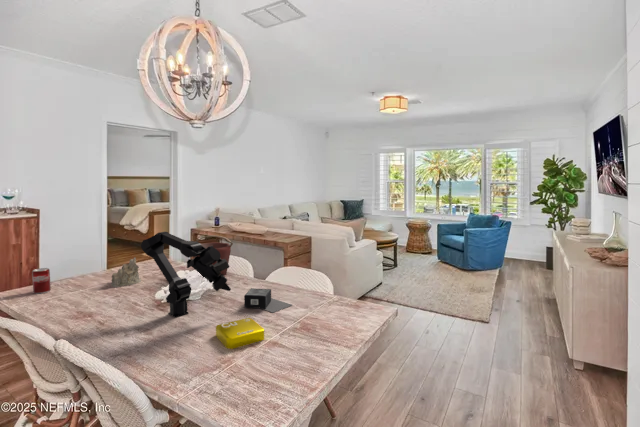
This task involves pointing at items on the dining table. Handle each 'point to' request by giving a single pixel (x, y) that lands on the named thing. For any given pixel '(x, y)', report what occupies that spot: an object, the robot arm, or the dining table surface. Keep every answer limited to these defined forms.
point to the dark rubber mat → (276, 305)
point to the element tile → (239, 333)
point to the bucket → (219, 249)
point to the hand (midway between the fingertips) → (230, 290)
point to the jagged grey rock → (126, 275)
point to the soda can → (41, 280)
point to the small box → (257, 298)
